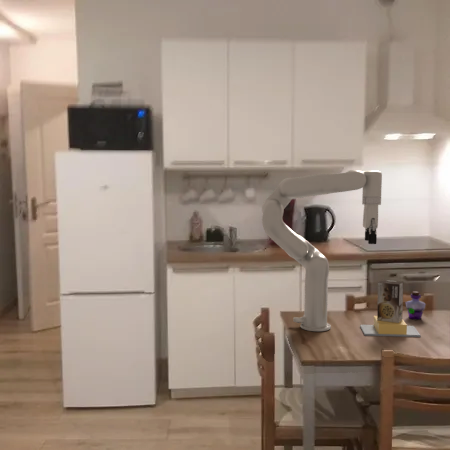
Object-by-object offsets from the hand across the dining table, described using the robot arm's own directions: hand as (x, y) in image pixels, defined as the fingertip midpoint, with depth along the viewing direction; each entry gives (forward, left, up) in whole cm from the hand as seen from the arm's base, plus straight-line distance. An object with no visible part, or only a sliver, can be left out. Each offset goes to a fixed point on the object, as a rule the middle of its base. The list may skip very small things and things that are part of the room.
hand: (370, 242), depth 252 cm
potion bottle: (+23, +17, -36) cm, 46 cm away
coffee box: (+8, -5, -32) cm, 33 cm away
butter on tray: (+8, -5, -36) cm, 38 cm away
